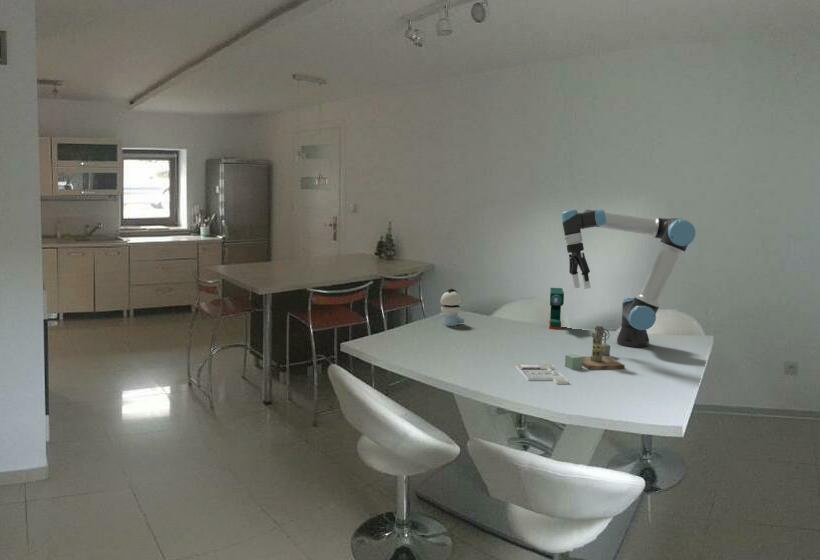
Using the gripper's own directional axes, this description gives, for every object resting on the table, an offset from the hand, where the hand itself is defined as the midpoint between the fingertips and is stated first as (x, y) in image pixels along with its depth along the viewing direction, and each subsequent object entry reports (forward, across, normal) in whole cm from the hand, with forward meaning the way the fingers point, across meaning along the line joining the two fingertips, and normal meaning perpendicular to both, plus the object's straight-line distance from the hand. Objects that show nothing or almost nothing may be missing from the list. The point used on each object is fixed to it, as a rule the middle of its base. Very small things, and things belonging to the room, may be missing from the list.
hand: (582, 288), depth 318 cm
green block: (+30, +29, -20) cm, 46 cm away
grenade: (+30, +24, -7) cm, 40 cm away
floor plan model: (+29, +40, -37) cm, 62 cm away
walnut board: (+32, +24, -7) cm, 41 cm away
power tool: (+23, -51, 0) cm, 56 cm away
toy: (+12, -64, -54) cm, 85 cm away
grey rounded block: (+31, +10, 0) cm, 33 cm away
